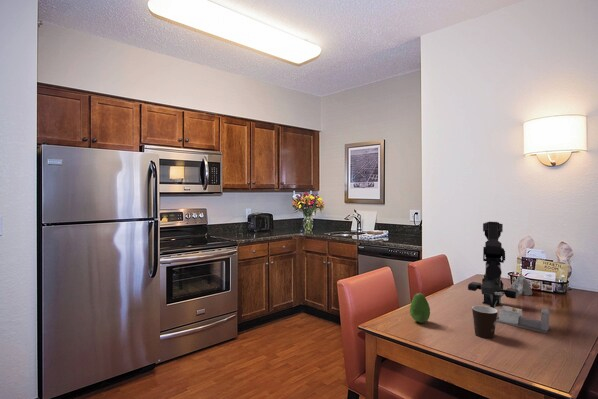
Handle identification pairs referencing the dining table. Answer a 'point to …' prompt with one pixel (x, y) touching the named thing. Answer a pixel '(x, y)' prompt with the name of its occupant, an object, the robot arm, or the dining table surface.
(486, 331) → the coffee mug
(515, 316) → the lock block
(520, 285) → the mineral rock
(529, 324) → the hitch plate
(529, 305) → the dining table surface
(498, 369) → the dining table surface
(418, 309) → the fruit
